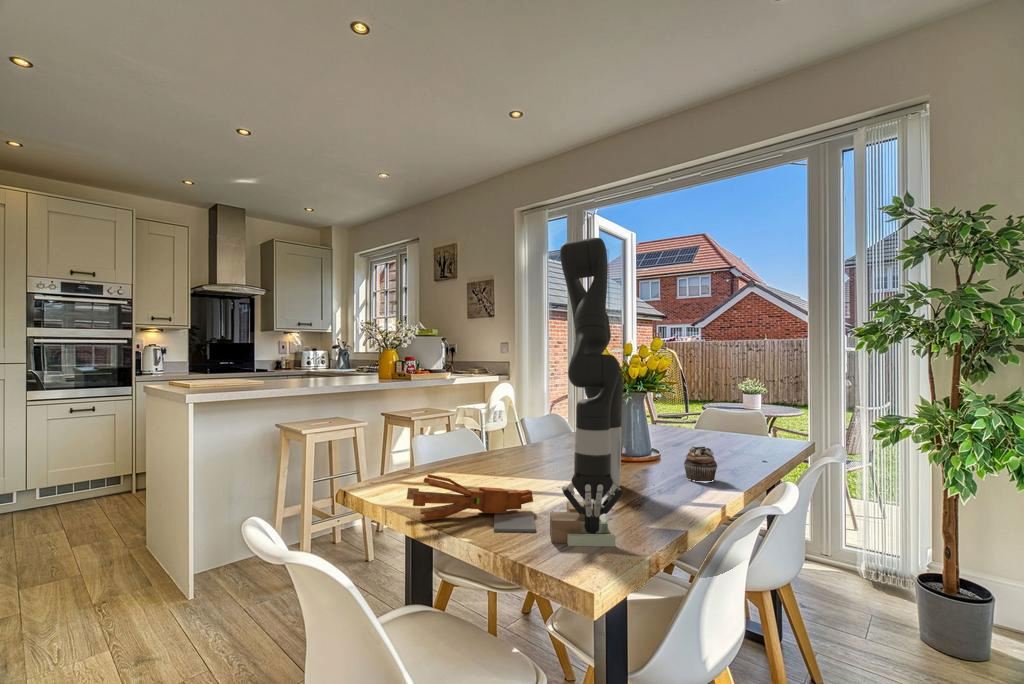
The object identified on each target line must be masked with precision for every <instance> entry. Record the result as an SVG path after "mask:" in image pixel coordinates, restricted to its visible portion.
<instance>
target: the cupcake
mask: <svg viewBox="0 0 1024 684" xmlns="http://www.w3.org/2000/svg"><path fill="white" fill-rule="evenodd" d="M688 450H689V452H688V453H687V454H686V456H685V460H684V463H683V465H684V470H685V474H686V475H685V477H686V479H687V478H688V479H691V480H695V481H712V480H714V481H715V477H716V472H717V469H718V464H717V462H716V460H715V456H714V451H712V449H711V448H709V447H705V446H698V447H697V446H691V447H689V448H688Z"/></svg>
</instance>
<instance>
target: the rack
mask: <svg viewBox="0 0 1024 684" xmlns="http://www.w3.org/2000/svg"><path fill="white" fill-rule="evenodd" d="M591 502H592V501H591ZM578 503H579V504H580V505H581V506H584V503H583V501H578ZM592 503H593V502H592ZM591 509H592V505H591ZM558 512H565V513H578V512H577V511H576V509H575V508H574V507H573V505H572V504H571V503H570V501H566V509H564V510H563V509H561V510H560V509H559V510H558ZM579 516H580V518H581V534H567V543H566V544H567V547H616V535H615V533H609V523H608V521H607V520H606V518H605V516H604V514H602V515H600V517H599V531H598V532H596V534H588V532H586V530H585V527H584V523H585V515H584V514H579Z"/></svg>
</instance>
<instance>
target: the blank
mask: <svg viewBox="0 0 1024 684" xmlns="http://www.w3.org/2000/svg"><path fill="white" fill-rule="evenodd" d="M549 518H550V519H549V536H550V542H551V543H556V544H567V534H582V533H581V518H580V516H579V513H565V512H559V511H558V512H557V511H556V512H553V511H551V512H549Z"/></svg>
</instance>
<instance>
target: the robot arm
mask: <svg viewBox="0 0 1024 684" xmlns="http://www.w3.org/2000/svg"><path fill="white" fill-rule="evenodd" d="M559 250H560V251H559V253H560V254H559V255H560V258H559V259H560V263H561V269H562V272H563V276H564V280H565V284H566V288H567V292H568V295H569V299H570V301H569V302H570V305H571V312H572V317H573V326H574V334H575V335H574V337H575V338H574V339H575V340H574V347H573V351H572V352H573V353H572V355H571V358H570V361H569V365H568V370H567V374H568V375H567V376H568V380H569V382H570V383H571V384H572V385H573V386H574V387H576V388H583V389H584V393H585V397H586V398H584V399H581V400H579V401H577V404H576V411H575V413H576V414H575V415H576V416H575V417H576V419H575V420H576V421H575V422H576V423H575V434H574V460H573V461H574V466H573V467H574V469H573V476H572V478H571V482H570V483H569V484H568V485H564V486H562V487H561V491H562V493H563V495H564V496H565V497H566V499H567V501H568V502H570V503H571V504H572V505H573V507H574V508H575V509H576V511H577V512H578V513H579V514H584V515H585V523H584V527H585V530H586V532H588V533H587V534H597V533H596V532H598V531H599V517H600V515H607V514H608V513H609V512H610V511H611V510H612V508H613V507H615V504H616V503H617V502H618V501H619V500H620V498H621V497H622V496H623V494H624V491H623V490H622V489H621V488H620V487H621V478H622V477H621V475H622V474H621V469H622V467H621V466H622V463H621V462H622V416H623V415H622V414H623V411H622V410H623V409H622V408H623V394H624V378H623V375H622V373H621V372H620V371H621V368H620V363H619V361H618V359H617V358H616V357H615V356H614V355H613V354H606V353H605V354H603V353H604V352H605V350H606V348H607V347H608V346H609V344H610V341H611V338H612V337H611V336H612V334H611V333H612V332H611V325H610V319H609V315H608V313H607V309H606V308H607V307H606V306H607V293H608V268H609V267H608V266H609V265H608V264H609V263H608V253H607V248H606V244H605V242H604V240H603V239H602V238H600V237H589V238H585V239H584V238H583V239H578V240H571V241H566V242H564V243H562V244H561V246H560V249H559ZM591 277H593V279H592V282H591V283H590V286H589V288H588V290H587V291H586V289H585V288H584V286H583V284H582V281H581V280H580V279H587V278H591ZM575 490H576V491H577V493H578V495H579V496H580V497H581V498H582V502H583V503H584V506H581V505H580V504H579V503H578V502H579V501H578V499H576V497H575V494H576V493H575ZM608 492H609V494H608V496H607V497H606V498H605V496H606V495H607V493H608ZM603 498H605V500H604V501H603ZM602 501H603V502H602ZM592 502H593V503H592ZM591 505H592V509H591Z"/></svg>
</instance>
